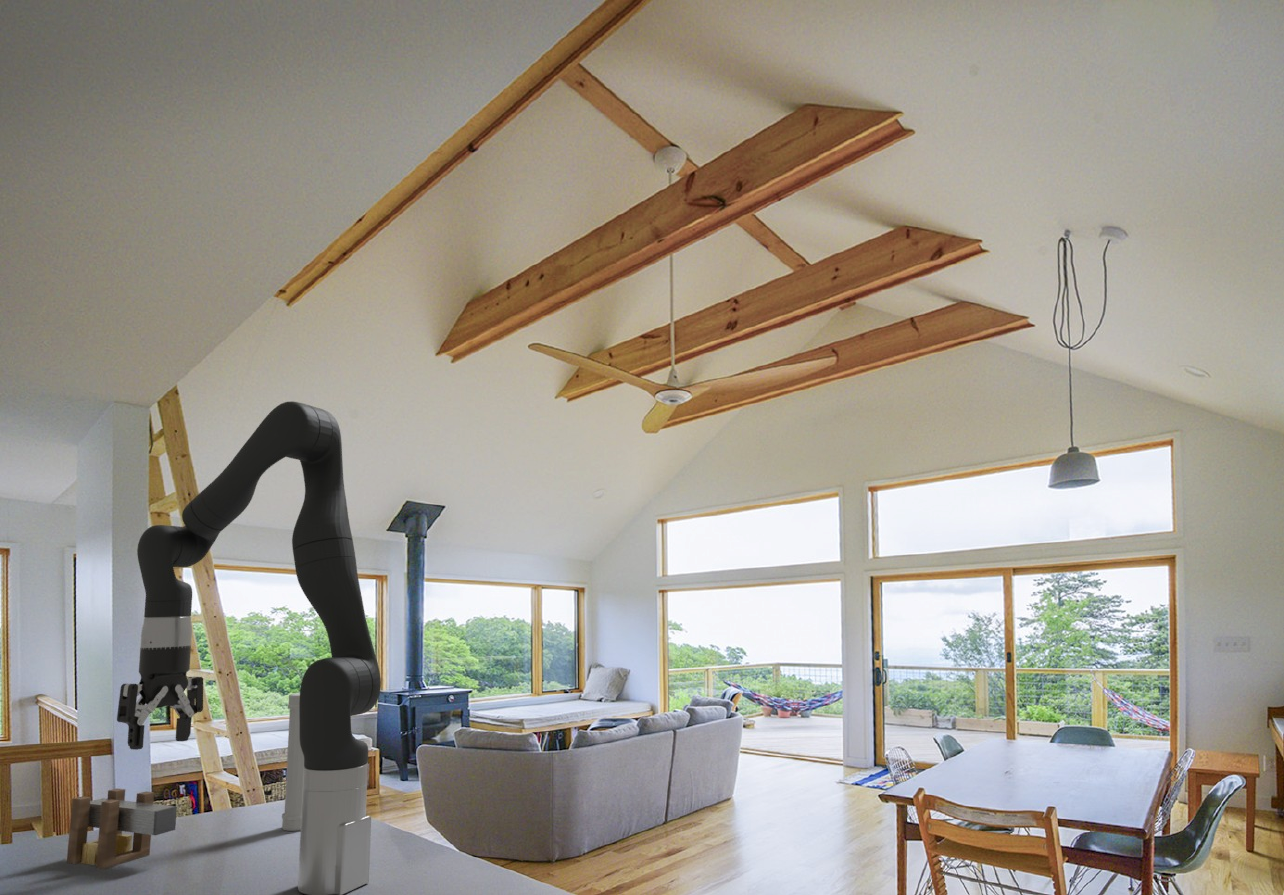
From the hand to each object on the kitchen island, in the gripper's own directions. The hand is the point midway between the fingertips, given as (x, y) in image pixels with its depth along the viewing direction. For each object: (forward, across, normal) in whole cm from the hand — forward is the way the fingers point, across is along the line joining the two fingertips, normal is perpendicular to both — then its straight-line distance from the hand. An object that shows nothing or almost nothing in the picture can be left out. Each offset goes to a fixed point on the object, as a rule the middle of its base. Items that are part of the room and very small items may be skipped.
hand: (159, 744), depth 144 cm
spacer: (+17, 0, +9) cm, 19 cm away
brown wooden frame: (+18, 0, +10) cm, 21 cm away
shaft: (+13, 0, +6) cm, 15 cm away
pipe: (+19, +26, -5) cm, 33 cm away
